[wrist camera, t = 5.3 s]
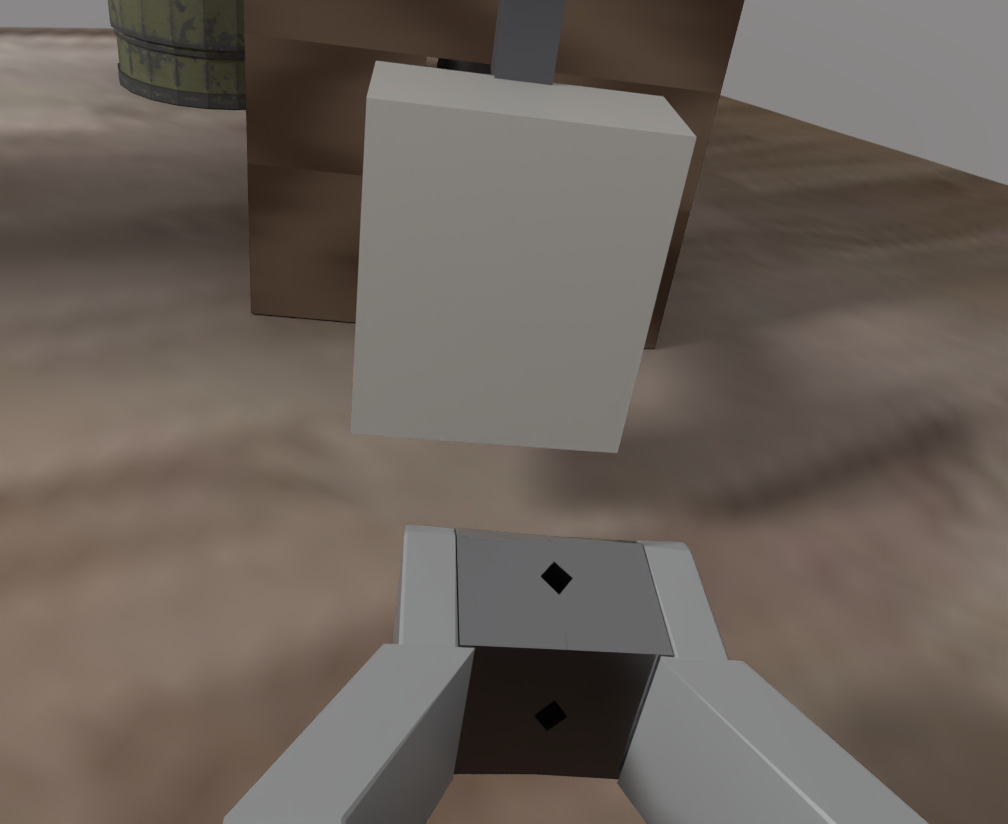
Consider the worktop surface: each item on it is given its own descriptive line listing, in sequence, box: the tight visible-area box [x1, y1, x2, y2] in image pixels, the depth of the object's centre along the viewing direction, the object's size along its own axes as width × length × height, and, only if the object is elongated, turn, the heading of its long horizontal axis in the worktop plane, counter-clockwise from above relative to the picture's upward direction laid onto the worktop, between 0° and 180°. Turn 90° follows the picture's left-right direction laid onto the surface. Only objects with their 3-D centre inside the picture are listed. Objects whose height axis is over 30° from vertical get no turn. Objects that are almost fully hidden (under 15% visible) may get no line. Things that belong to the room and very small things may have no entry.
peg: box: [350, 0, 697, 453], centre depth 20 cm, size 5×16×10 cm, turn 3°
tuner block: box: [244, 0, 744, 349], centre depth 28 cm, size 12×12×12 cm
